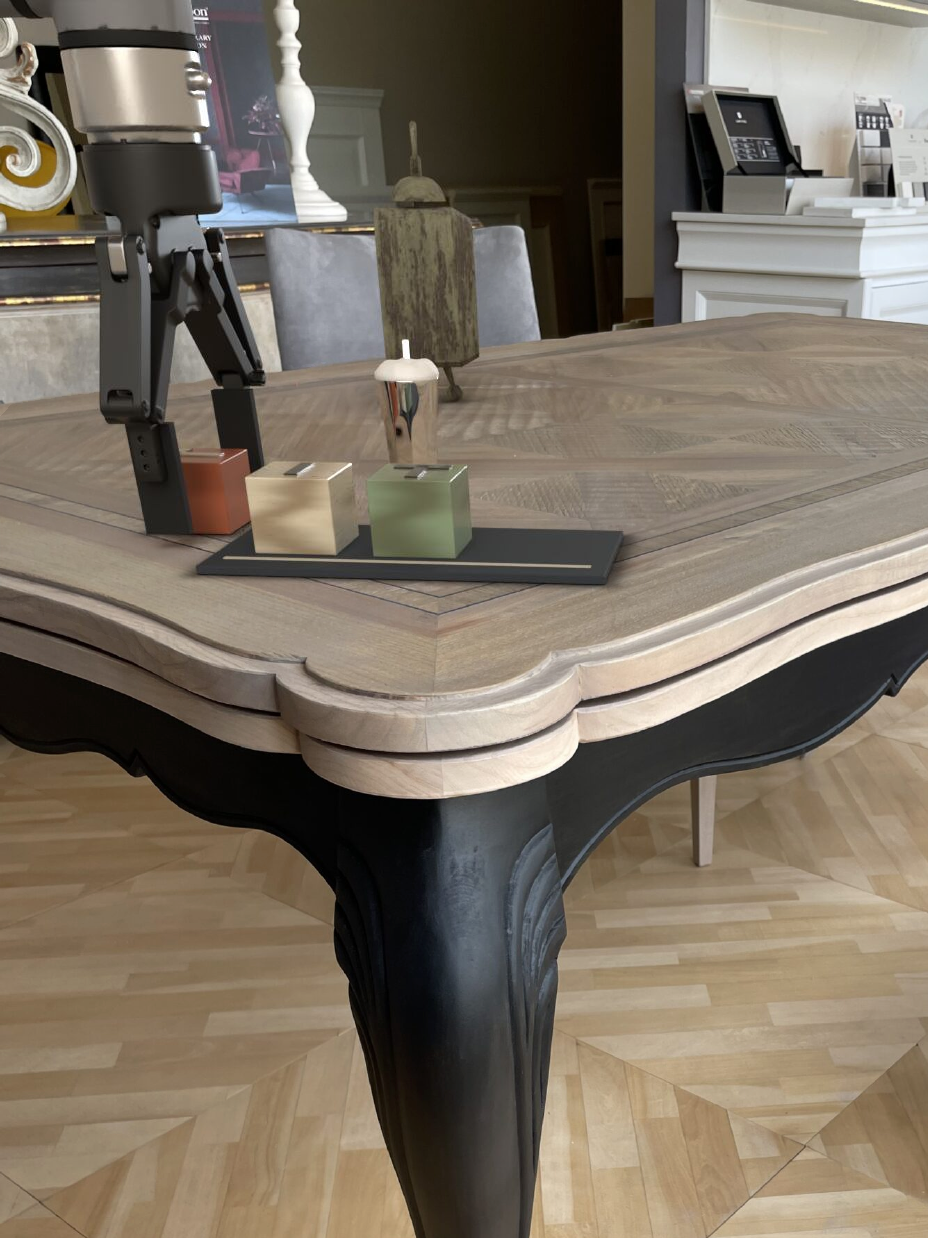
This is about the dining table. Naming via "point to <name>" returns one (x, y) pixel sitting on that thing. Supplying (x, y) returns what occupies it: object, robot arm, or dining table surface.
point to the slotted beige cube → (302, 507)
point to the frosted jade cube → (419, 510)
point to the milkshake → (409, 408)
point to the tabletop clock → (427, 276)
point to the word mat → (442, 559)
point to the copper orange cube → (216, 488)
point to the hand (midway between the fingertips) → (211, 509)
